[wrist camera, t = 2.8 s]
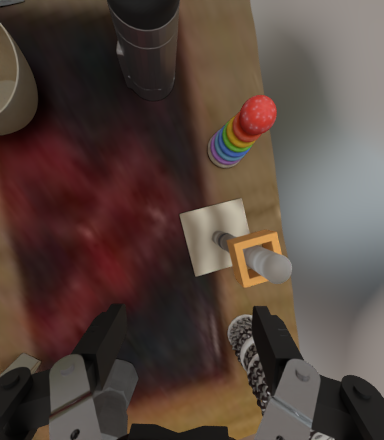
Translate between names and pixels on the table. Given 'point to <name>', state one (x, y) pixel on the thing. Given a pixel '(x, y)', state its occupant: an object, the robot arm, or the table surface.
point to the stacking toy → (242, 131)
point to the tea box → (9, 2)
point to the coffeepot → (115, 400)
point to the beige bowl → (15, 86)
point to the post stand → (217, 245)
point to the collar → (238, 261)
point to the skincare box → (24, 363)
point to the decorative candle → (254, 364)
